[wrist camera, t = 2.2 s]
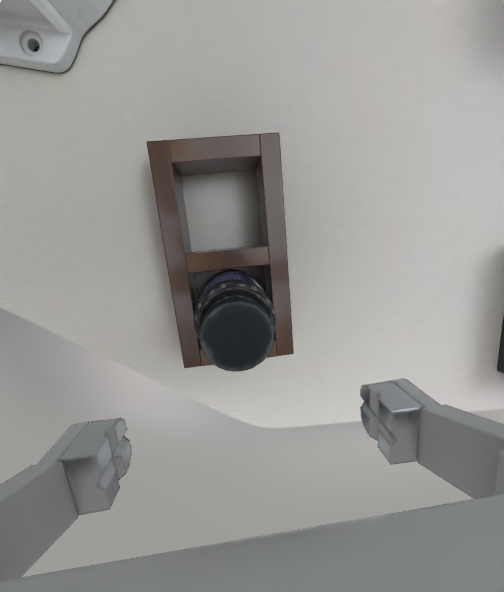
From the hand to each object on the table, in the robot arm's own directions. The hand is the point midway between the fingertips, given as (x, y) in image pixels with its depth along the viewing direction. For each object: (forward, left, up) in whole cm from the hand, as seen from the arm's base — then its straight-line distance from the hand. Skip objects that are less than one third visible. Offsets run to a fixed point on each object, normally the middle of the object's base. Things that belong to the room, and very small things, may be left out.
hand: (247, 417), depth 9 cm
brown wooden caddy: (0, +4, -18) cm, 19 cm away
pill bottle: (0, 0, -18) cm, 18 cm away
